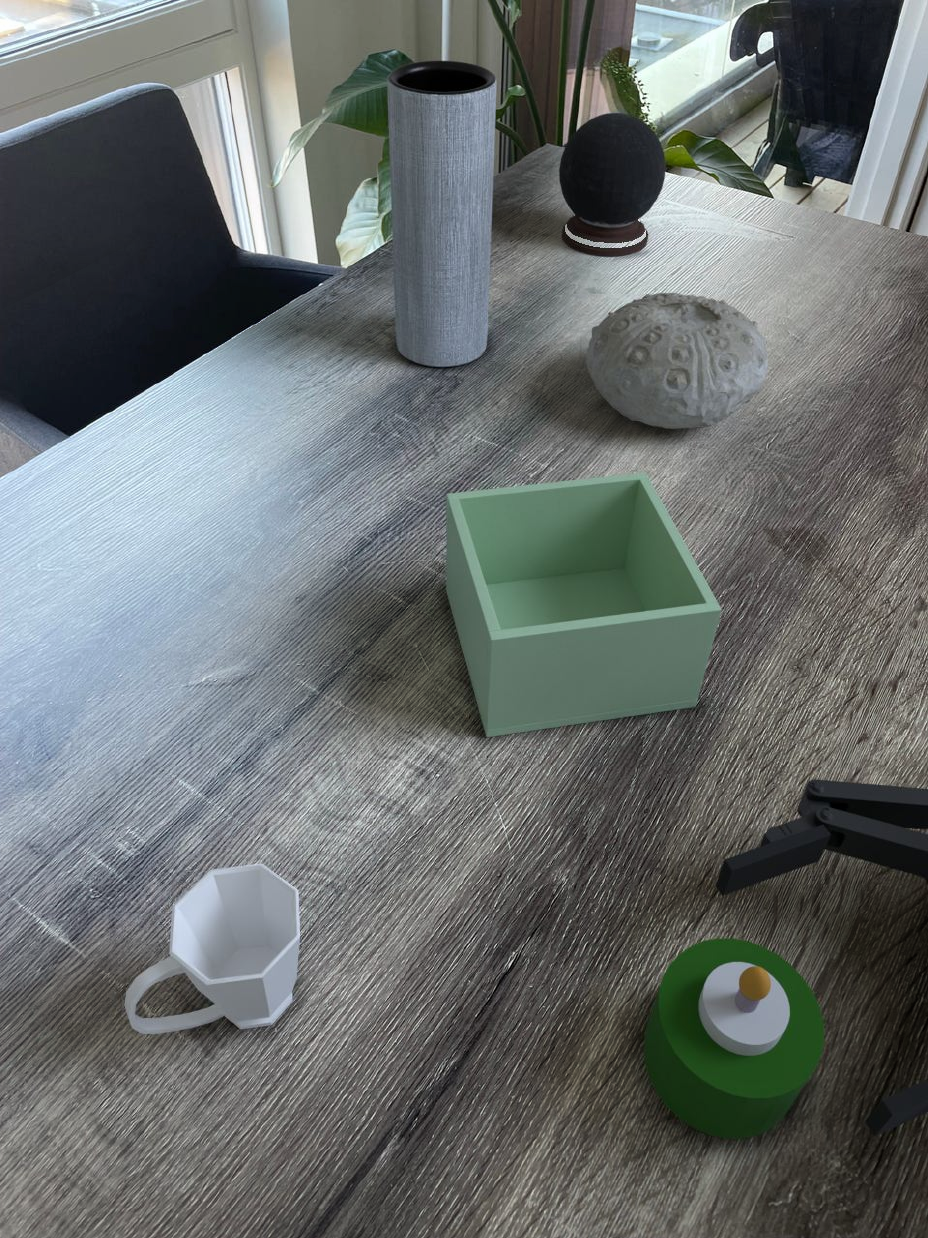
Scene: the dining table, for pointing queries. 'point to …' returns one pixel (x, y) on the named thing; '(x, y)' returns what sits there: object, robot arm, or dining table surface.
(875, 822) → the robot arm
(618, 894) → the dining table surface
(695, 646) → the bin
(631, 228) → the black ball on stand
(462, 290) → the vase
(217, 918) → the cup
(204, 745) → the dining table surface
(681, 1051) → the candle
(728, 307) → the decorative shell
